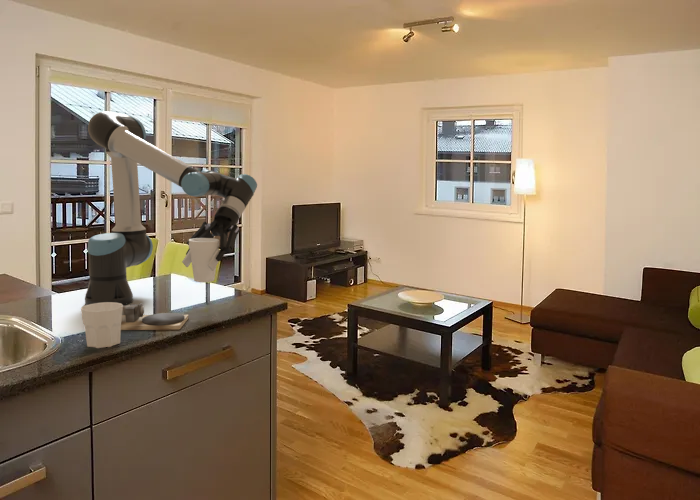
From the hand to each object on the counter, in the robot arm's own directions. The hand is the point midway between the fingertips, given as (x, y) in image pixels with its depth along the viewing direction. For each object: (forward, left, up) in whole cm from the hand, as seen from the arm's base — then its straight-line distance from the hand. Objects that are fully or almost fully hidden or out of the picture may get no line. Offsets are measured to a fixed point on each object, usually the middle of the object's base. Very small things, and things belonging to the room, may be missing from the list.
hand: (197, 266), depth 171 cm
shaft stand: (-14, -9, -16) cm, 23 cm away
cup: (-20, -27, -16) cm, 37 cm away
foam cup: (+1, +3, -5) cm, 6 cm away
